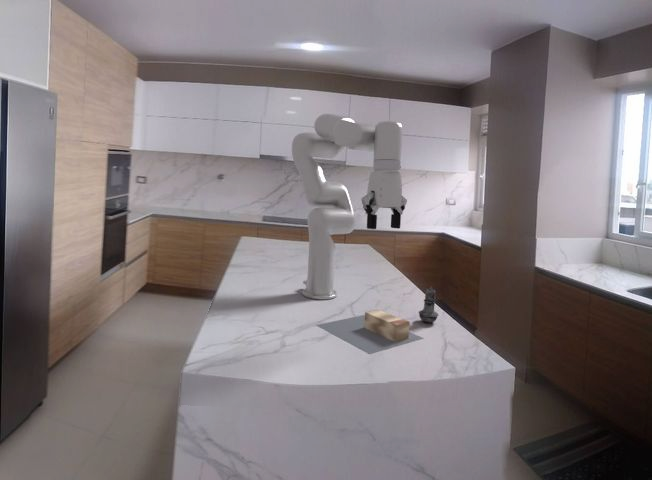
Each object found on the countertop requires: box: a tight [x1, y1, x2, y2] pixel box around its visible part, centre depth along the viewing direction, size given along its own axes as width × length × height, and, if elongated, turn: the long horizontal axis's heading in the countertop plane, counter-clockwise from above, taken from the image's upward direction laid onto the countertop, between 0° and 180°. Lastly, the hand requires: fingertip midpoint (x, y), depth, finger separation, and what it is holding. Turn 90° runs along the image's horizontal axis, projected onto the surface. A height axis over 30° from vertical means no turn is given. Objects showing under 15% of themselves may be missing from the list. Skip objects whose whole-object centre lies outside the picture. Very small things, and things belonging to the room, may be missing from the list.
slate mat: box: [316, 314, 424, 355], centre depth 112 cm, size 22×20×1 cm
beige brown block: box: [364, 309, 411, 342], centre depth 112 cm, size 12×5×5 cm, turn 38°
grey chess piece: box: [418, 285, 439, 325], centre depth 122 cm, size 6×6×12 cm
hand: (383, 228), depth 116 cm, fingers open, 9 cm apart
